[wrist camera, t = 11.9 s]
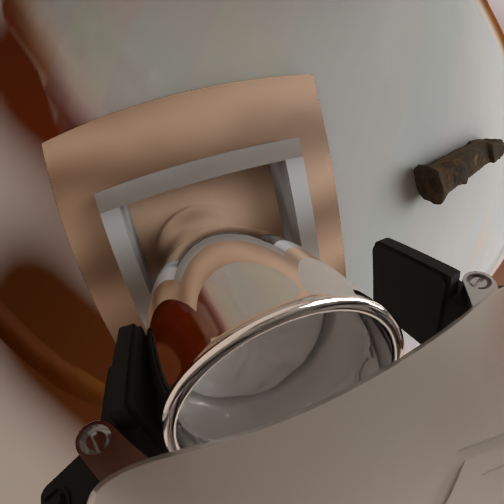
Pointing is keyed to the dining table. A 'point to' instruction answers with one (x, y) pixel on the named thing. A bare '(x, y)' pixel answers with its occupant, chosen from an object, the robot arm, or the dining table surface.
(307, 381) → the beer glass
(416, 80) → the dining table surface
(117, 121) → the glass dock
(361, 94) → the dining table surface
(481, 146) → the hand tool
